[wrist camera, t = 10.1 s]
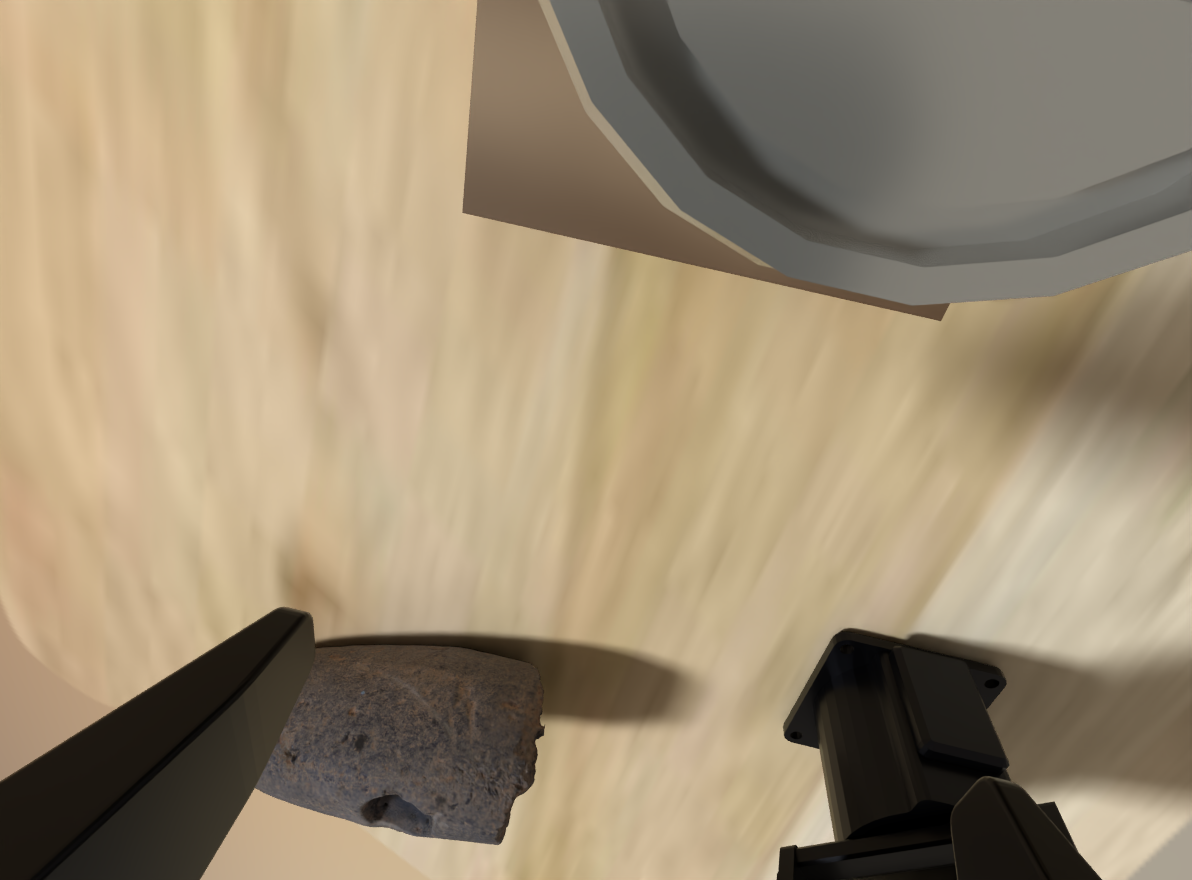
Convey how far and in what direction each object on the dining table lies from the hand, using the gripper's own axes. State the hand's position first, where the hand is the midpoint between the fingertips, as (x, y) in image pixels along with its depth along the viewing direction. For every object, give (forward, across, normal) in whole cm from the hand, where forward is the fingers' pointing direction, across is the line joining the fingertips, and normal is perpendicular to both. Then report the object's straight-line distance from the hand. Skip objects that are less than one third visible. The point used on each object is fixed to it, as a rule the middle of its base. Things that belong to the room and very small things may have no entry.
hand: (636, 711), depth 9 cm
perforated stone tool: (+13, +8, +18) cm, 24 cm away
